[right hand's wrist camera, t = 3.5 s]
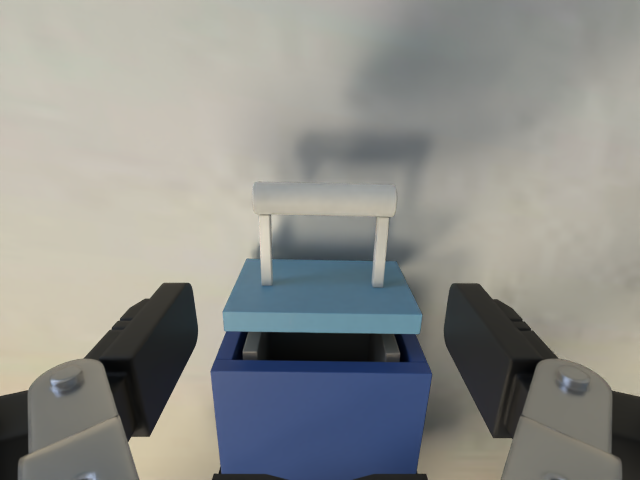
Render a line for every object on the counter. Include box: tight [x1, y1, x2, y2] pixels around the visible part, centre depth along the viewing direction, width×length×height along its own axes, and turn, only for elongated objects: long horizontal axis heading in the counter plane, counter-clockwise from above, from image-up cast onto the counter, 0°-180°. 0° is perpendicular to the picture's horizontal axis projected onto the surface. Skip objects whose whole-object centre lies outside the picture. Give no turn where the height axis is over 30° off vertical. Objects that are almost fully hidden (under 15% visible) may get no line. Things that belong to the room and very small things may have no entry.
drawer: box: [223, 182, 422, 362], centre depth 23 cm, size 21×10×7 cm, turn 179°
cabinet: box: [211, 331, 432, 480], centre depth 25 cm, size 16×11×8 cm
